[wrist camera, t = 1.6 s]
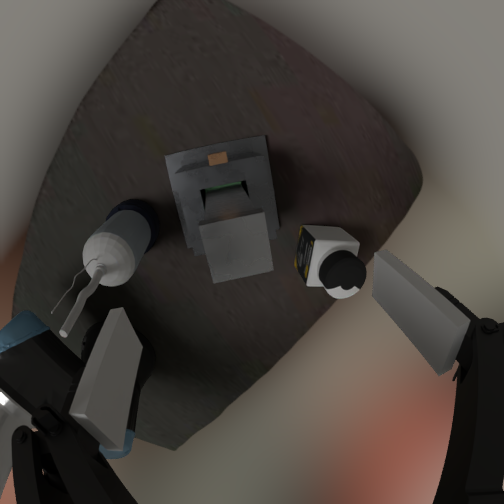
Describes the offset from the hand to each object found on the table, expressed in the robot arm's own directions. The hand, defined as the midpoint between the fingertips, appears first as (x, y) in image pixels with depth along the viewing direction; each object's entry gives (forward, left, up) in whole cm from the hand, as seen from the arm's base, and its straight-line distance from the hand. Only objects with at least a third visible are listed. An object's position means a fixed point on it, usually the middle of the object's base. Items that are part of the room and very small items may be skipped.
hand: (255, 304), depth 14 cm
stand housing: (0, 0, -29) cm, 28 cm away
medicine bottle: (+13, -12, -29) cm, 33 cm away
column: (0, 0, -29) cm, 28 cm away
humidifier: (-15, -2, -29) cm, 32 cm away
